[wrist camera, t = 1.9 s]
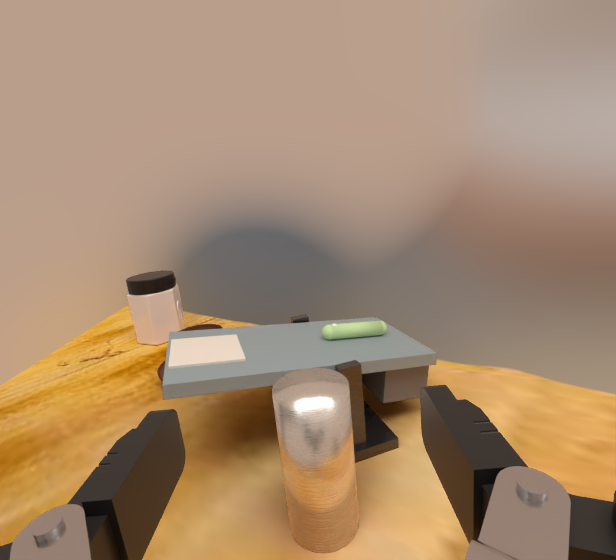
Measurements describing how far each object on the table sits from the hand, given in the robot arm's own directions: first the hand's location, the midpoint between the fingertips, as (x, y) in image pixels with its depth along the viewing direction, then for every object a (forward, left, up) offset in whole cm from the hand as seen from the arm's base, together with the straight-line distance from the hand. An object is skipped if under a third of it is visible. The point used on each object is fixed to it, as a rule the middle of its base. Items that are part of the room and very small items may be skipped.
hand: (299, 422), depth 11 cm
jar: (-58, +15, -17) cm, 62 cm away
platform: (-18, +14, -13) cm, 26 cm away
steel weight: (-8, +8, -16) cm, 20 cm away
